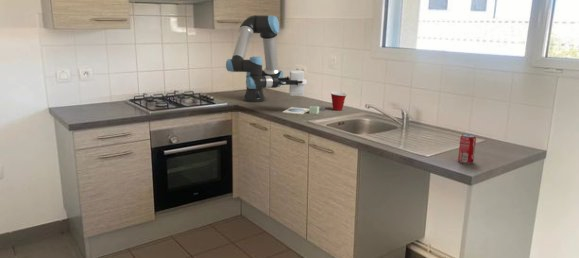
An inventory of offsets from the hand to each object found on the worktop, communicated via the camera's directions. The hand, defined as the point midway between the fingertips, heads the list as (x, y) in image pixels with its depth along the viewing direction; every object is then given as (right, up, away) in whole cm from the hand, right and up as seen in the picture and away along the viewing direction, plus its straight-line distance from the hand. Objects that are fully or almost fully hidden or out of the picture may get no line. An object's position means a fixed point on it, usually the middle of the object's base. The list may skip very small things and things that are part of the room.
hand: (302, 80), depth 284 cm
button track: (+9, -21, +1) cm, 22 cm away
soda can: (+68, -46, -94) cm, 124 cm away
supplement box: (-4, -9, 0) cm, 10 cm away
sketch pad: (-4, -20, +3) cm, 21 cm away
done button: (+8, -21, -2) cm, 22 cm away
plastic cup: (+24, -19, +9) cm, 32 cm away
